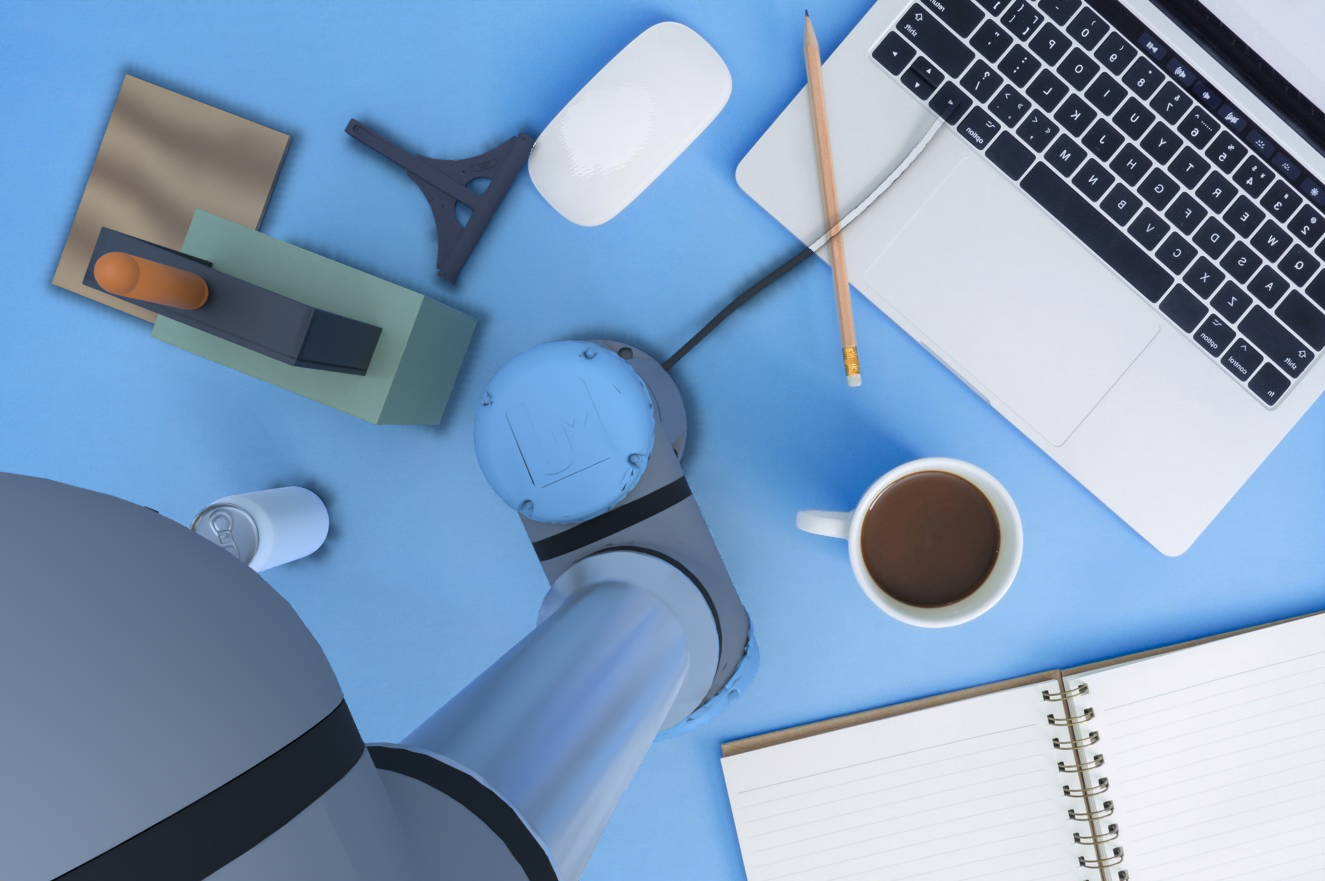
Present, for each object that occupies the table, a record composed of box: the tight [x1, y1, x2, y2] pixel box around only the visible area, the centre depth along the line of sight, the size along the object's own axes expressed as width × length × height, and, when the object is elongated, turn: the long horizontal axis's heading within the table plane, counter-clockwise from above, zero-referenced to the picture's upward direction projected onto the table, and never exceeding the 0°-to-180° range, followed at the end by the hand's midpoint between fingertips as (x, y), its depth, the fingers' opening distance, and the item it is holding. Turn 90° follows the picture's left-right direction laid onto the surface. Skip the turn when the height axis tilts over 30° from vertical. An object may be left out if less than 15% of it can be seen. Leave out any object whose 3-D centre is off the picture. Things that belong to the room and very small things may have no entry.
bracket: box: [344, 117, 537, 285], centre depth 77 cm, size 14×15×3 cm
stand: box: [149, 208, 479, 426], centre depth 71 cm, size 10×18×15 cm, turn 69°
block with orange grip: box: [82, 227, 382, 376], centre depth 54 cm, size 4×14×19 cm, turn 69°
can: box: [188, 485, 330, 573], centre depth 73 cm, size 6×6×12 cm
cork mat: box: [51, 73, 293, 325], centre depth 79 cm, size 20×16×1 cm
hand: (8, 460), depth 43 cm, fingers open, 13 cm apart
